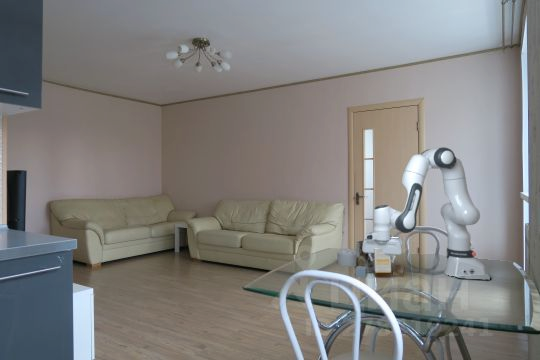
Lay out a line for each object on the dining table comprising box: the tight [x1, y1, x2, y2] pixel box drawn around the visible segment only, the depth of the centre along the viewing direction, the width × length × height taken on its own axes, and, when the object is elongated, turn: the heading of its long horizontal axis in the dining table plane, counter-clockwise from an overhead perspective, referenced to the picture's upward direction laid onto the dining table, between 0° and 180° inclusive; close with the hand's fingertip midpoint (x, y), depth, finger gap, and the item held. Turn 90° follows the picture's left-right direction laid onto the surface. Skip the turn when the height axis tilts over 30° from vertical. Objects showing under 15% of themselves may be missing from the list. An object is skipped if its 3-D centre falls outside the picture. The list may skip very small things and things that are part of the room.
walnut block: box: [392, 264, 405, 278], centre depth 206 cm, size 5×5×5 cm
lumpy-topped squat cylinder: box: [337, 248, 356, 267], centre depth 230 cm, size 10×13×9 cm
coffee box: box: [355, 240, 375, 273], centre depth 216 cm, size 9×6×16 cm
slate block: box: [355, 266, 368, 279], centre depth 203 cm, size 5×5×5 cm
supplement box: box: [373, 248, 392, 274], centre depth 201 cm, size 8×5×13 cm, turn 82°
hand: (382, 261), depth 201 cm, fingers closed on supplement box, 8 cm apart
